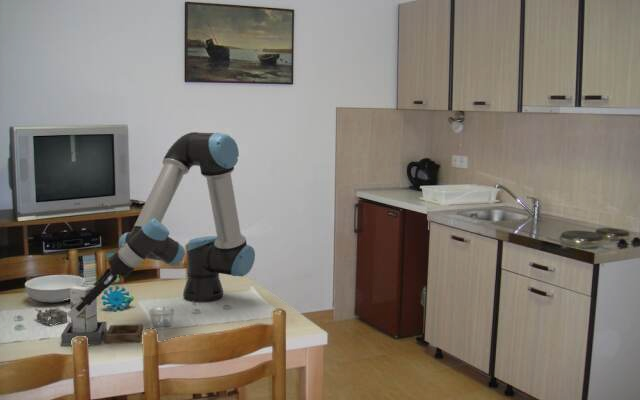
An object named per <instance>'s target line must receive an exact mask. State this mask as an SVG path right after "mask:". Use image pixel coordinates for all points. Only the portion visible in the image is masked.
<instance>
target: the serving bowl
mask: <svg viewBox="0 0 640 400" xmlns="http://www.w3.org/2000/svg"><path fill="white" fill-rule="evenodd" d="M80 284H83V285H86V279H85V278H84V277H81V276H78V275H73V274H54V275H53V274H51V275H45V276H39V277H34V278H31V279H29V280H27V281H26V282H25V283H24V288H25V291H26V293H27V296H29V298H31V299H33V300H35V301H38V302H42V303H49V304H55V303H57V304H58V303H62V302H65V301H64V299H67V298H70V288H71V287H74V286H76V285H80Z"/></svg>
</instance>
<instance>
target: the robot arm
mask: <svg viewBox="0 0 640 400" xmlns="http://www.w3.org/2000/svg"><path fill="white" fill-rule="evenodd" d="M239 153H240V152H239V148H238V144H237V142H236V140H235V139H234V138H233V137H231V135H229V134H225V133H220V132H198V131H197V132H196V131H195V132H194V131H193V132H192V131H191V132H189V133H185V134H184V135H182V136H180V137H179V138H178V139H176V141H174V143H173V144H172V145H171V146H170V148H168V150H167V152H166V153H165V155H164V158H163V159H162V164H163V165H162V168H161V170H160V172H159V175H158V176H157V179H156V180H155V183H154V184H153V186H152V189H151V191H150V193H149V195H148V197H147V198H146V201H145V203H144V205H143V207H142V209H141V212H140V213H139V214H138V218H137V219H136V221H135V223H134V225H133V227H132V229H131V231H128V232H124V233H123V234H122V235H121V236H120V237H119V240H118V249H119V250H118V251H117V252H115V254H113V255H112V256H111V257H110V258H109V259H108V262H107V263H108V264H109V266H110V267H109V268H107V269H106V270H105V271H104V273H103V274H102V275H100V277H99V279H97V281H95V282H94V283H93V284H92V285H95V287H94V288H93V289H92V290H91V291H90V292H89V293H88V294H87V295H86V296H85V297H84V298H83V297H81V300H80V301H79V302H78V303H77V304H76V305H75V306H74V307H73V308H72V309H71V308H70V310H69V311H68V312H67V317H68V318H70V320H71V319H72V320H74V319H75V318H76V317H77V316H78V315H79V314H80V313H81V312H82V311H83V310H84V309H85V308H86V307H87V306H88V305H90V304H91V303H92V302H93V301H94V300H95V299H96V298H98V297H99V296H100V295H101V294H102V293H104V291H105V290H107V289H109V287H110V286H111V284H113V283H115V281H117V279H118V275H119V276H120V277H123V278H126V277H127V278H128V276H129V275H131V273H132V272H133V271H134V269H136V268H137V267H139V265H141V264H142V263H143V262H144V261H145V260H146V259H148V260H149V259H150V260H155V261H160V262H162V263H165V265H169V266H177V265H179V264H180V263H181V262H182V261H183V260H184V257H185V253H186V252H187V279H186V282H185V286H184V288H183V299H184V300H186V301H188V302H192V301H195V303H211V302H215V301H218V300H222V299H223V298H224V288H223V285H222V283H221V280H220V279H221V278H220V276H219V275H220V274H223V275H227V276H233V277H245V276H246V275H248V274H249V273H250V272H251V270H252V268H253V265H254V263H255V259H256V252H255V249H254V247H252V246H251V245H249V244H247V238H246V236H245V235H243V234H242V233H241V228H240V222H239V216H238V209H237V204H236V198H235V191H234V186H233V180H232V173H233V171H234V170H235V166H236V164H237V163H238V160H239V159H238V158H239V156H240V155H239ZM194 166H195V167H196V166H197V167H198V166H199V169H200V174H201V175H202V176H203V177H205V178H206V185H207V188H208V194H209V198H210V204H211V205H210V206H211V210H212V215H213V221H214V226H215V232H216V236H215V235H211V236H210V235H209V236H201V237H195V238H191V239H189V241H188V243H187V251H185V248H184V246H183V245H182V244H180V243H179V241H176V240H175V239H173V238H171V237H170V231H169V230H168V228H167V227H166V225H164V224H163V223H162V221H163V219H164V217H165V215H166V213H167V211H168V208H169V206H170V205H171V203H172V200H173V198H174V196H175V194H176V192H177V190H178V187H179V186H180V183H181V182H182V179H183V177H184V176H185V175H187V174H188V173H189V171H190V170H191V168H192V167H194ZM88 299H89V300H88Z"/></svg>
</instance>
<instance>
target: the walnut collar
mask: <svg viewBox="0 0 640 400" xmlns="http://www.w3.org/2000/svg"><path fill="white" fill-rule="evenodd" d="M107 331H108V332H107V334H106V336H105V344H126V343H127V344H129V343H130V344H131V343H133V344H134V343H140V342H141V341H142V340H141V339H142V337H141V335H142V336H143V333H142V331H143V332H144V325H143V323H136V324H135V323H134V324H129V323H128V324H110V325H109V327H108V329H107Z"/></svg>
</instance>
